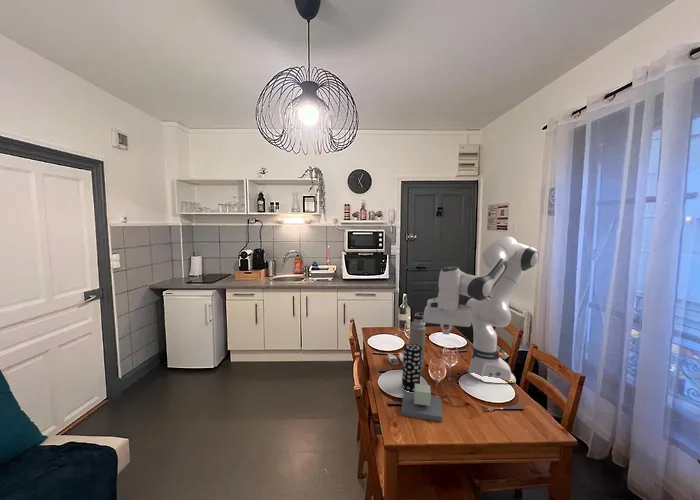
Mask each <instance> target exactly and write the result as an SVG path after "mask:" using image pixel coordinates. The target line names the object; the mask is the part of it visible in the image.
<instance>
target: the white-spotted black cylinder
mask: <svg viewBox="0 0 700 500" xmlns="http://www.w3.org/2000/svg"><path fill="white" fill-rule="evenodd" d="M402 354H403V362H402V374H401V378H402V380H401V389H402V388H403V389H404V390H406V391H409V392H414V386H415V383H416V384H421V375H422V373H421V371H422V370H421V358H422V347H421V346H419V345H416V344H409V343H407V344H404V345H403V353H402ZM403 389H402V390H403ZM404 390H403V391H404ZM406 391H405V392H406ZM409 392H408V393H409Z"/></svg>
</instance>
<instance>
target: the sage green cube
mask: <svg viewBox="0 0 700 500" xmlns="http://www.w3.org/2000/svg"><path fill="white" fill-rule="evenodd" d="M431 390H432V389H431V385H430V384H422V383H420V384H416V383H415V386H414V393H413V394H414V404H419V405H426V406H430V401H431V396H432V391H431Z"/></svg>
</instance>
